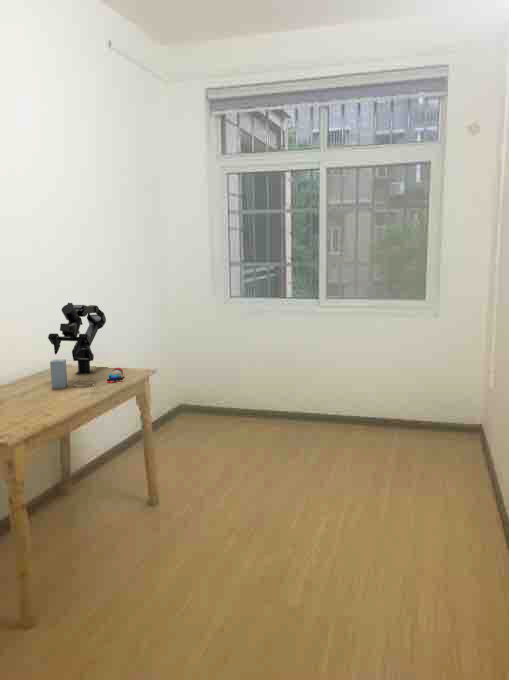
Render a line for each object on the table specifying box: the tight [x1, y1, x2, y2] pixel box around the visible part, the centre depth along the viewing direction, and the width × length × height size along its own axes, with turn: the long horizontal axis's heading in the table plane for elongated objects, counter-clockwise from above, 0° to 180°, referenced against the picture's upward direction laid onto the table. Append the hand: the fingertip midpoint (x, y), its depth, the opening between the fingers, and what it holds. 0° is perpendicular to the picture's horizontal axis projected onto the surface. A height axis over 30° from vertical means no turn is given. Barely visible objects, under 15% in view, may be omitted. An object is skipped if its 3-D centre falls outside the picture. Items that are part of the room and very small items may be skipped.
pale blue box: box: [49, 358, 68, 389], centre depth 247 cm, size 5×6×12 cm
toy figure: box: [106, 367, 124, 384], centre depth 261 cm, size 8×5×15 cm
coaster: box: [72, 381, 94, 388], centre depth 251 cm, size 9×9×1 cm
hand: (65, 354), depth 253 cm, fingers open, 9 cm apart
